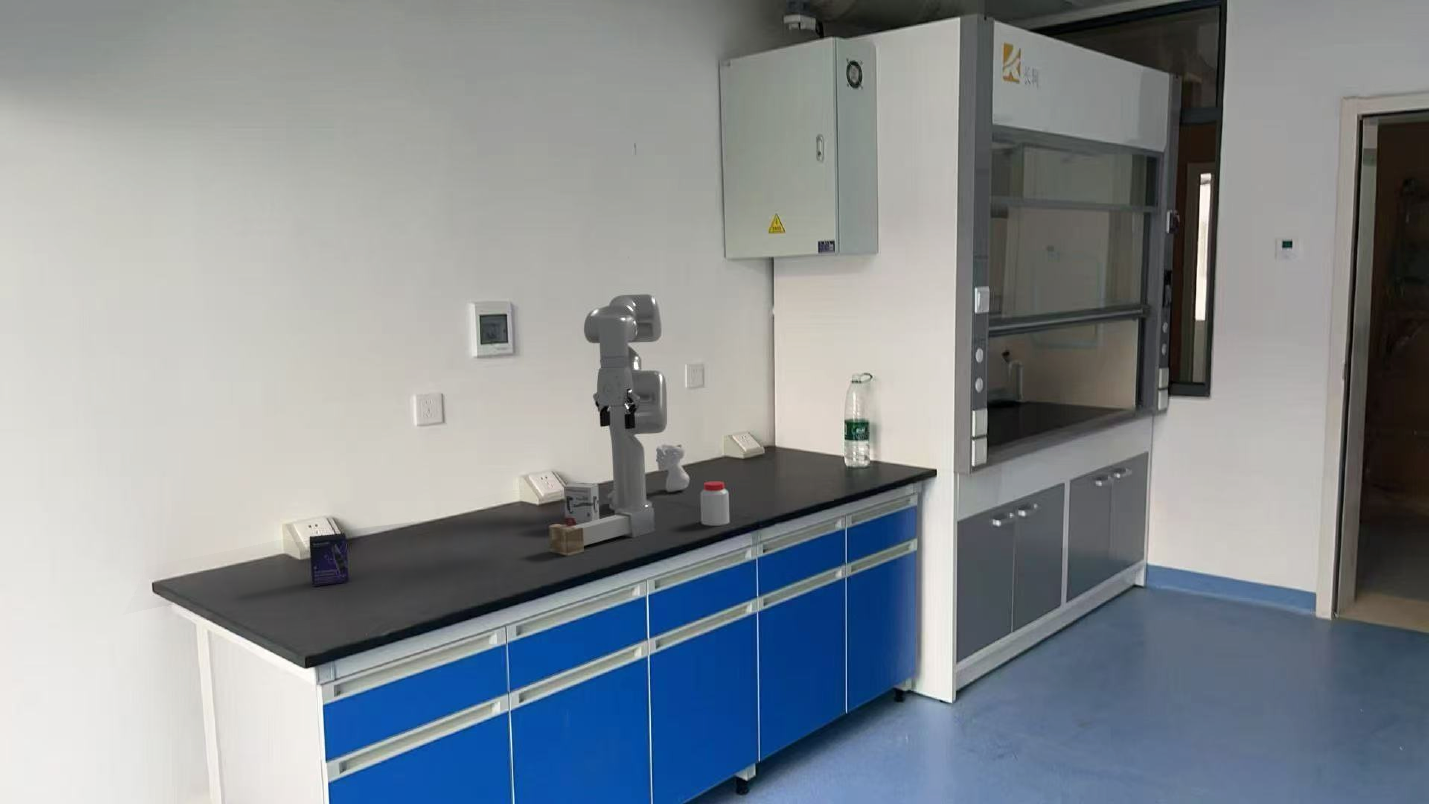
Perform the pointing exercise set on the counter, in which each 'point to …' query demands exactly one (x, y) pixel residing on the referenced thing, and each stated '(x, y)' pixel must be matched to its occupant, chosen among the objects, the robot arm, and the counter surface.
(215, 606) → the counter surface
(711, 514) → the pill bottle
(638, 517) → the sleeve
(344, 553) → the box
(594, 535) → the light grey bar
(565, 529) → the crate
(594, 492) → the ink box
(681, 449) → the white bust sculpture
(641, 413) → the robot arm
